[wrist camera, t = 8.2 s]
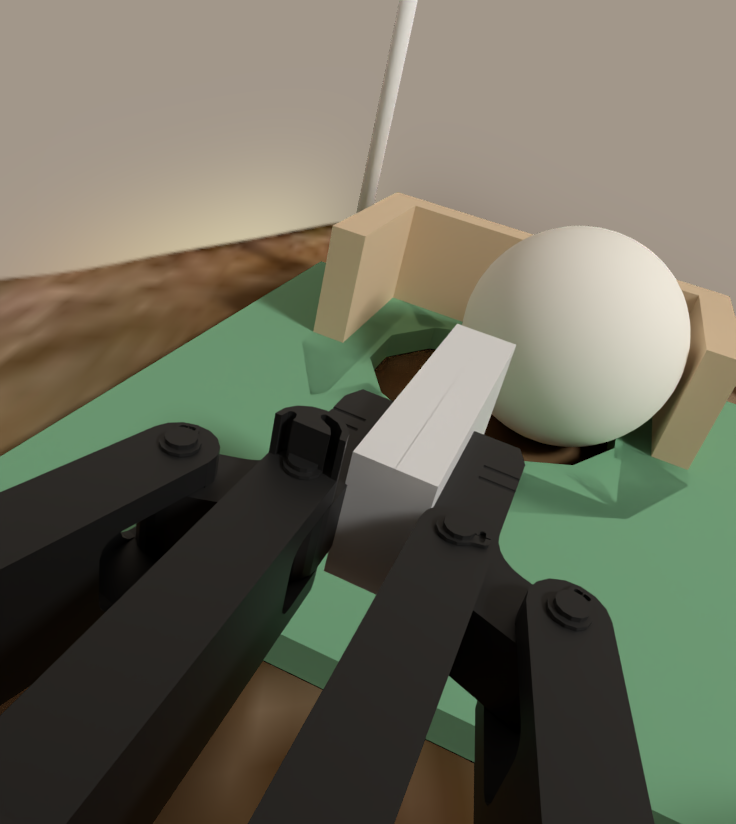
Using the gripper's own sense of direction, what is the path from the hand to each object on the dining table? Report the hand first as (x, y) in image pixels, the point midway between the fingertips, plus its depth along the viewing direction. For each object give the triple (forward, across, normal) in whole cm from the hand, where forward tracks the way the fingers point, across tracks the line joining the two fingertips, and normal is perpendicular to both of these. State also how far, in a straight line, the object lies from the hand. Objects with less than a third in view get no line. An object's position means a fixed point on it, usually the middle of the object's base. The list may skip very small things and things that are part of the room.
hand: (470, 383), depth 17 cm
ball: (+13, +2, -3) cm, 13 cm away
